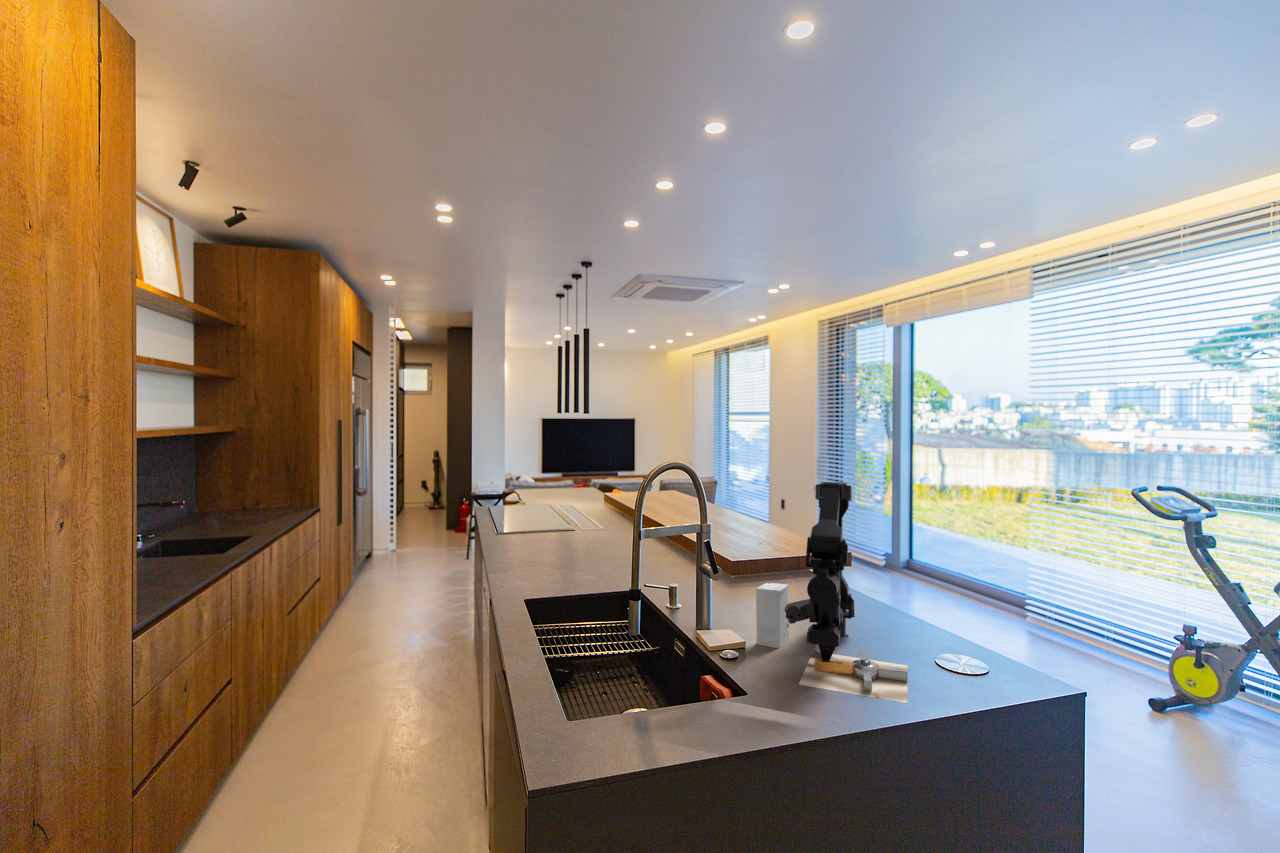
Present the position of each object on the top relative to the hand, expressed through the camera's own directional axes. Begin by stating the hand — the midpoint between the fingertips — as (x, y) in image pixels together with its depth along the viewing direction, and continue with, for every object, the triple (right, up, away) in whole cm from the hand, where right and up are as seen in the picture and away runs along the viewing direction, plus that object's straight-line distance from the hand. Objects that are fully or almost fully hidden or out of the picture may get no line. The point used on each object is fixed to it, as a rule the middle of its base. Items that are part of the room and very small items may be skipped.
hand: (825, 663), depth 128 cm
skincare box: (-8, -3, +17) cm, 19 cm away
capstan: (+6, -1, -3) cm, 7 cm away
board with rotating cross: (+5, -3, -3) cm, 7 cm away
